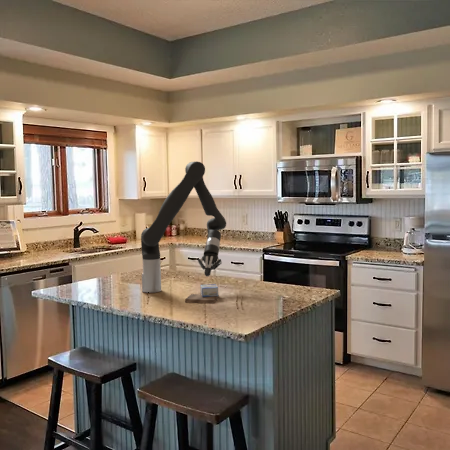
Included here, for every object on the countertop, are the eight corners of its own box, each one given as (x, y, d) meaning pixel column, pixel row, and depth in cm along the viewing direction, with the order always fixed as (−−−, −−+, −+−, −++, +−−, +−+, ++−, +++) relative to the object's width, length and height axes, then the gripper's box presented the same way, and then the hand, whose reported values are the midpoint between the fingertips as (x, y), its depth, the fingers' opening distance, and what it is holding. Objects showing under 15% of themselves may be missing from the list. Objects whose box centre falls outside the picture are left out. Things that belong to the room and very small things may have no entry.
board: (185, 302, 233) (185, 299, 233) (191, 297, 244) (191, 294, 244) (214, 303, 231) (214, 299, 231) (219, 297, 241) (218, 294, 241)
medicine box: (215, 283, 246) (218, 287, 237) (216, 292, 246) (218, 296, 238) (200, 284, 245) (202, 288, 236) (200, 293, 245) (202, 297, 236)
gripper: (198, 243, 257) (192, 271, 246) (223, 243, 254) (218, 271, 243) (201, 252, 262) (195, 279, 251) (225, 252, 260) (221, 280, 249)
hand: (207, 275), depth 247 cm, fingers closed
